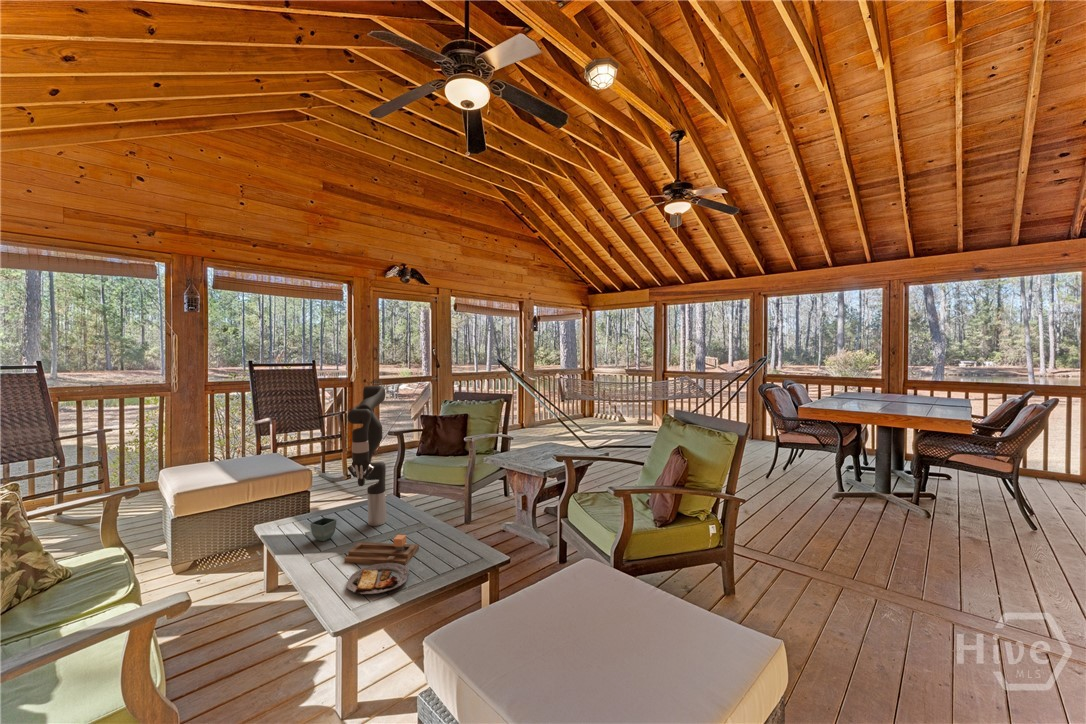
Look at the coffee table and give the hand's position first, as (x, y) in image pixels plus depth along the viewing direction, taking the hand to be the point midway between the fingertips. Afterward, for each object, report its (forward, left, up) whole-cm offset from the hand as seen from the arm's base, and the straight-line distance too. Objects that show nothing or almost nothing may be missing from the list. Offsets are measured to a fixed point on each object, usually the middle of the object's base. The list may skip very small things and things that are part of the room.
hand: (361, 485), depth 213 cm
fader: (+8, +23, -27) cm, 37 cm away
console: (+8, +15, -30) cm, 34 cm away
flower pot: (-6, -23, -30) cm, 38 cm away
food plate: (+30, +24, -30) cm, 49 cm away
